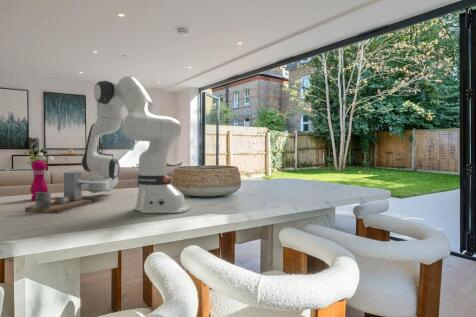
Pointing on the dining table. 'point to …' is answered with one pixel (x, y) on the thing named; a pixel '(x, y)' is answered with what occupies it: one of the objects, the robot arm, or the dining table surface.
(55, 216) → the dining table surface
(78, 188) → the brushed steel block
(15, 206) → the dining table surface
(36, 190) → the pepper mill
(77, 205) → the gauge bench
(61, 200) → the wood and grey stick
